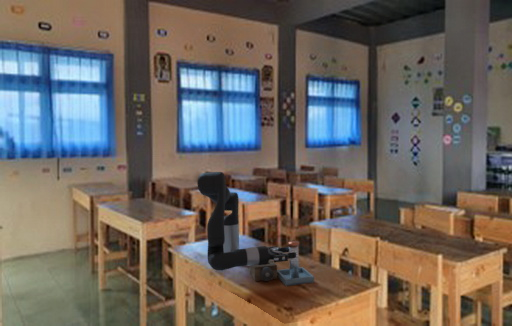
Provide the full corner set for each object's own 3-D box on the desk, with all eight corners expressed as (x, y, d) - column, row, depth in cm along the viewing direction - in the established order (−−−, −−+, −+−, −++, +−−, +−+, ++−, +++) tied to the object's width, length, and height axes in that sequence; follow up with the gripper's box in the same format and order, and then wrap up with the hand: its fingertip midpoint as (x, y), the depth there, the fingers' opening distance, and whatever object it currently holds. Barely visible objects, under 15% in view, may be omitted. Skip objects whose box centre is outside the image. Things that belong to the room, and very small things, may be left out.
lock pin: (287, 276, 179) (286, 241, 178) (297, 274, 180) (296, 240, 180) (291, 279, 174) (290, 244, 174) (301, 278, 176) (300, 243, 175)
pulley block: (249, 273, 186) (248, 260, 185) (270, 271, 188) (270, 258, 188) (256, 283, 174) (256, 269, 173) (279, 280, 176) (278, 266, 176)
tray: (276, 275, 182) (276, 270, 182) (302, 272, 185) (302, 267, 185) (285, 286, 170) (285, 280, 170) (314, 282, 173) (313, 276, 173)
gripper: (260, 252, 165) (298, 248, 169) (251, 242, 179) (286, 239, 183) (261, 270, 166) (298, 265, 170) (251, 259, 179) (286, 255, 184)
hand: (292, 252), depth 176 cm, fingers open, 8 cm apart
